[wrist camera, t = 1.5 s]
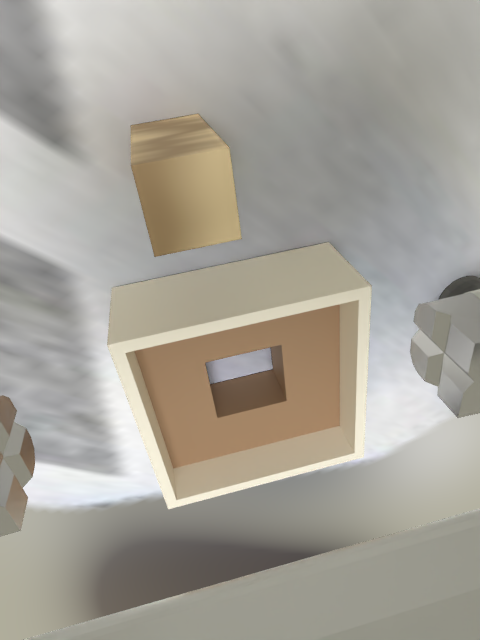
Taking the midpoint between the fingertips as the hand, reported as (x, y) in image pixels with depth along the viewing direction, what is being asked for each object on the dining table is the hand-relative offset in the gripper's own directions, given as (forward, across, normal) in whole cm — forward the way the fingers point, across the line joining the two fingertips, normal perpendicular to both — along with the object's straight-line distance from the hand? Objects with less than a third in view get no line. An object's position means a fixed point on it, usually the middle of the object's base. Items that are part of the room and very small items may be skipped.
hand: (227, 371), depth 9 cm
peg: (+22, -1, 0) cm, 22 cm away
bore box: (+22, -3, +16) cm, 27 cm away
